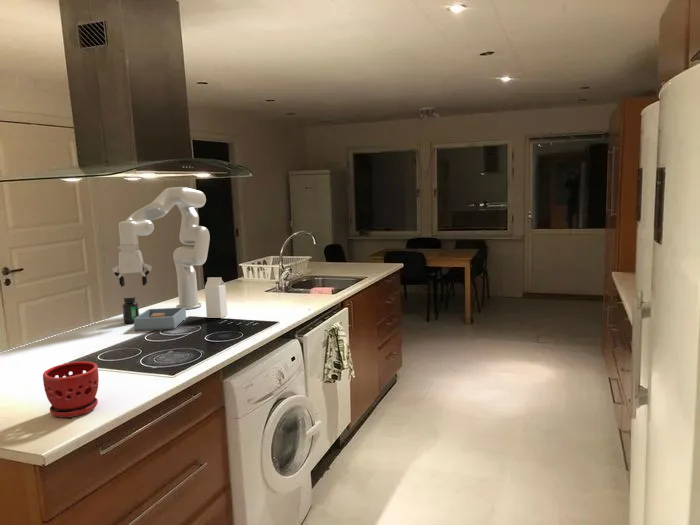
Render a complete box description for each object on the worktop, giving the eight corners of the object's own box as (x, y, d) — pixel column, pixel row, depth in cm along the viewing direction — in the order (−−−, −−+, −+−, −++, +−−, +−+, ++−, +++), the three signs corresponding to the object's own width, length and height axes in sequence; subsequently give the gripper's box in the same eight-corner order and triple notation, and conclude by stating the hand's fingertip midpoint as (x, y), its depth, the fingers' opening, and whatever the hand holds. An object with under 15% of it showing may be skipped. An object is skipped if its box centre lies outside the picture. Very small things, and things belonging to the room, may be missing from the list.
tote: (149, 320, 252) (148, 309, 252) (186, 318, 253) (185, 307, 252) (134, 331, 232) (133, 318, 232) (174, 329, 233) (173, 316, 233)
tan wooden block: (154, 324, 241) (153, 313, 240) (165, 323, 241) (164, 312, 240) (150, 327, 236) (149, 315, 235) (162, 326, 236) (161, 315, 235)
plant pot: (36, 417, 142) (30, 373, 140) (78, 399, 154) (74, 359, 152) (70, 424, 136) (65, 378, 135) (112, 405, 148) (108, 363, 147)
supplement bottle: (138, 323, 247) (135, 297, 246) (122, 324, 246) (120, 299, 244) (140, 320, 254) (138, 295, 252) (125, 321, 253) (123, 296, 251)
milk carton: (221, 319, 250) (218, 278, 247) (206, 318, 251) (203, 278, 249) (227, 315, 256) (224, 276, 254) (213, 315, 258) (210, 276, 255)
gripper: (107, 250, 239) (111, 288, 241) (147, 248, 240) (150, 285, 243) (113, 248, 246) (116, 285, 249) (151, 246, 248) (155, 283, 250)
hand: (133, 285), depth 246 cm, fingers open, 9 cm apart
